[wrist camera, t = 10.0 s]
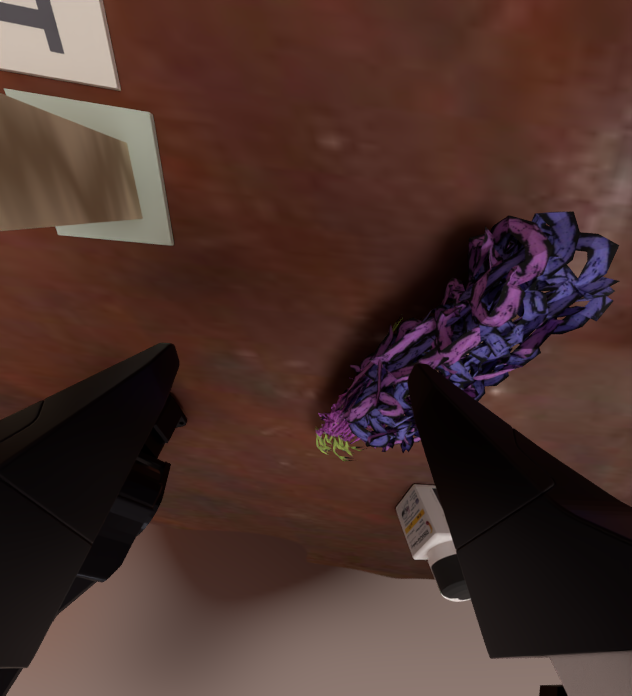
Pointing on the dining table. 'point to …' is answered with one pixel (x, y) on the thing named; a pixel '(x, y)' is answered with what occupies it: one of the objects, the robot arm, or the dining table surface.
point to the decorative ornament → (478, 325)
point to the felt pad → (144, 161)
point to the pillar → (60, 171)
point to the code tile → (58, 41)
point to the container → (432, 539)
